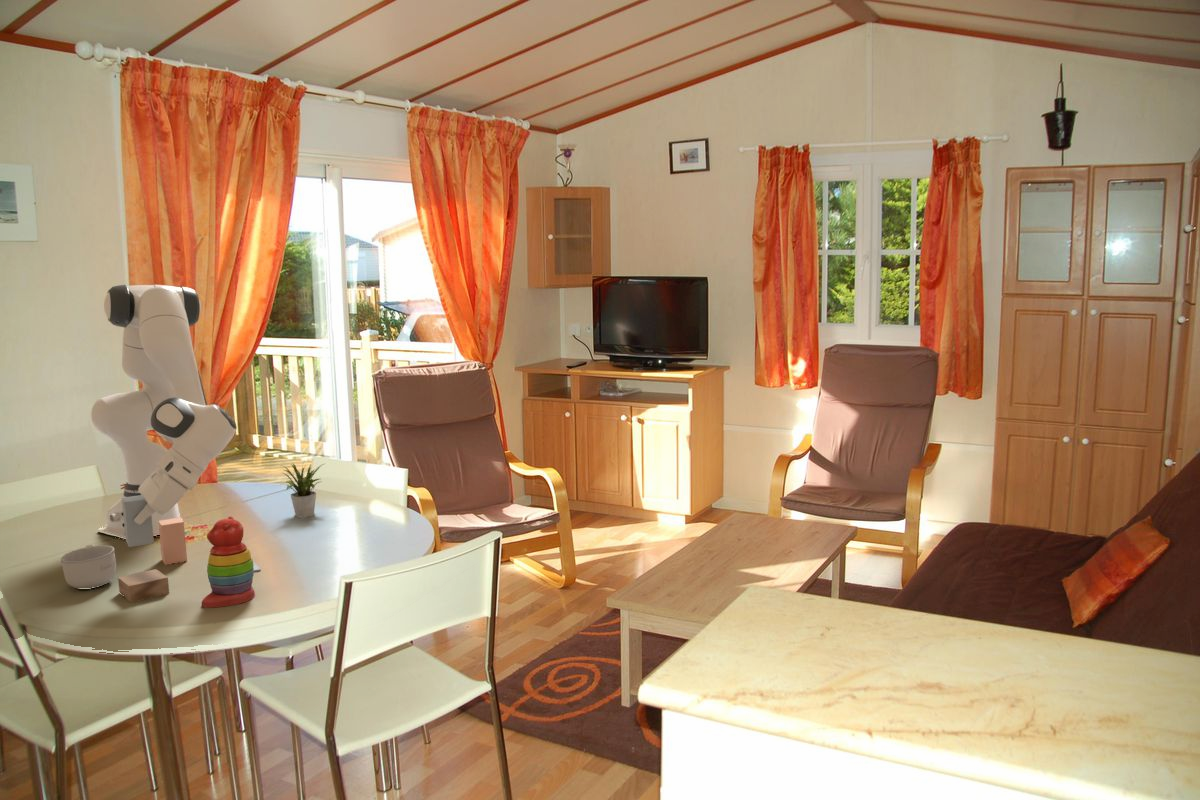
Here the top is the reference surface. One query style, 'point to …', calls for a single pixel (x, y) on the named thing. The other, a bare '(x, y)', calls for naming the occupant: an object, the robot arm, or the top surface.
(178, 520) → the terracotta pillar
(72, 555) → the teacup
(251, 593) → the stacking bear
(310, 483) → the house plant
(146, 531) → the slate pillar
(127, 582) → the walnut block
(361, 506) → the top surface
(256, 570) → the slate swatch
